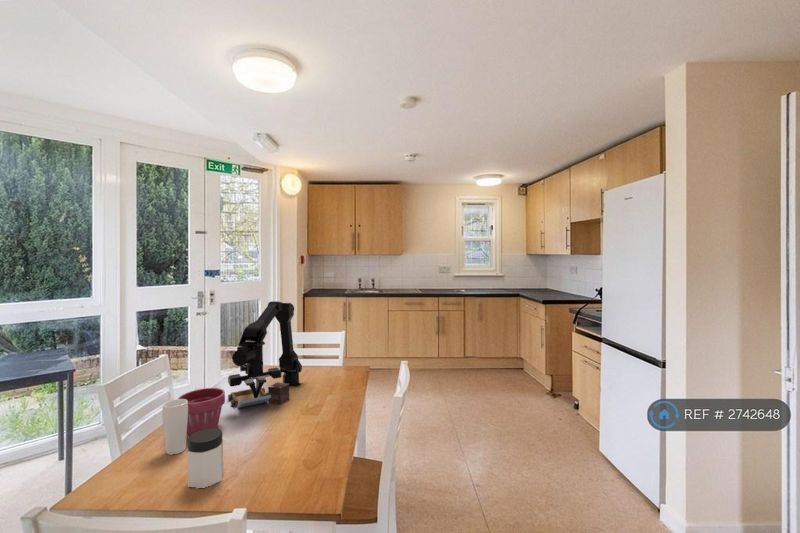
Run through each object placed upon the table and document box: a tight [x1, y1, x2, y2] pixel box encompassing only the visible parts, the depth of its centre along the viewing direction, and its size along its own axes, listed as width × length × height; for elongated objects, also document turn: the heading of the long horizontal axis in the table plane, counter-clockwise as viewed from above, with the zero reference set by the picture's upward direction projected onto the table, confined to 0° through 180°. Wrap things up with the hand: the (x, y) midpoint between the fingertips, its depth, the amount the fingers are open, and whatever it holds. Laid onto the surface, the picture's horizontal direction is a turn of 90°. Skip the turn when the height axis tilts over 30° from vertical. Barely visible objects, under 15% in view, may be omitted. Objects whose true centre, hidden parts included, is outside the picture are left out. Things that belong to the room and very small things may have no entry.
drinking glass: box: [161, 398, 188, 456], centre depth 112 cm, size 7×7×15 cm
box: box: [267, 381, 290, 406], centre depth 150 cm, size 6×6×7 cm
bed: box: [227, 387, 269, 410], centre depth 152 cm, size 14×12×3 cm
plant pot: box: [177, 387, 226, 438], centre depth 125 cm, size 14×14×13 cm
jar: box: [186, 428, 224, 489], centre depth 97 cm, size 9×8×12 cm
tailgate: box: [236, 395, 271, 409], centre depth 144 cm, size 11×9×1 cm
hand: (255, 398), depth 142 cm, fingers closed, pressing on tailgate
